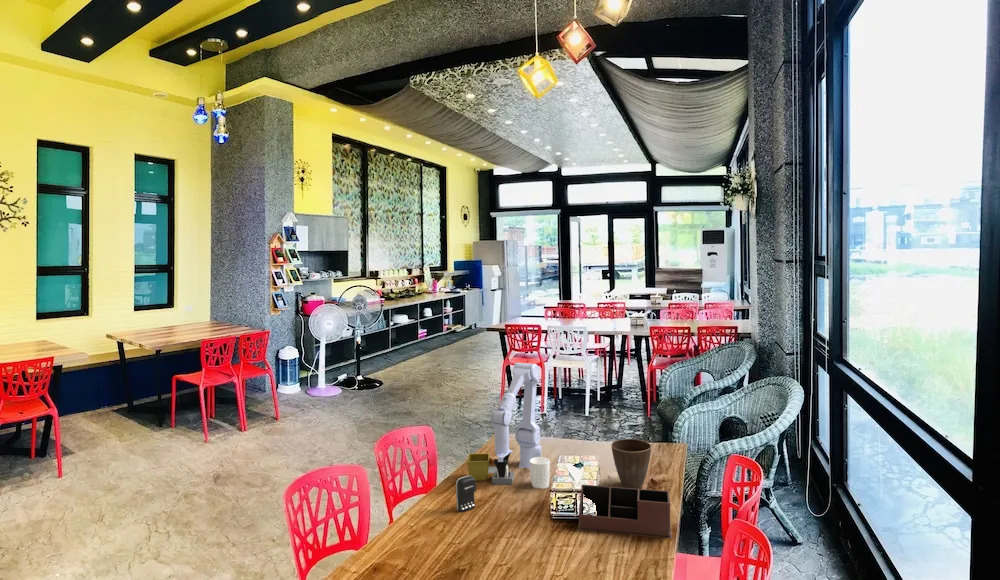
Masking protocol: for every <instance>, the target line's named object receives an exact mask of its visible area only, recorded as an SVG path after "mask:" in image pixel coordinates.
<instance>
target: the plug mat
mask: <svg viewBox="0 0 1000 580" xmlns="http://www.w3.org/2000/svg"><path fill="white" fill-rule="evenodd" d="M509 470H510V466H508V471H509ZM494 471H497V467H496V465H495V466H490V465H489V469H488V474H494Z"/></svg>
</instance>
